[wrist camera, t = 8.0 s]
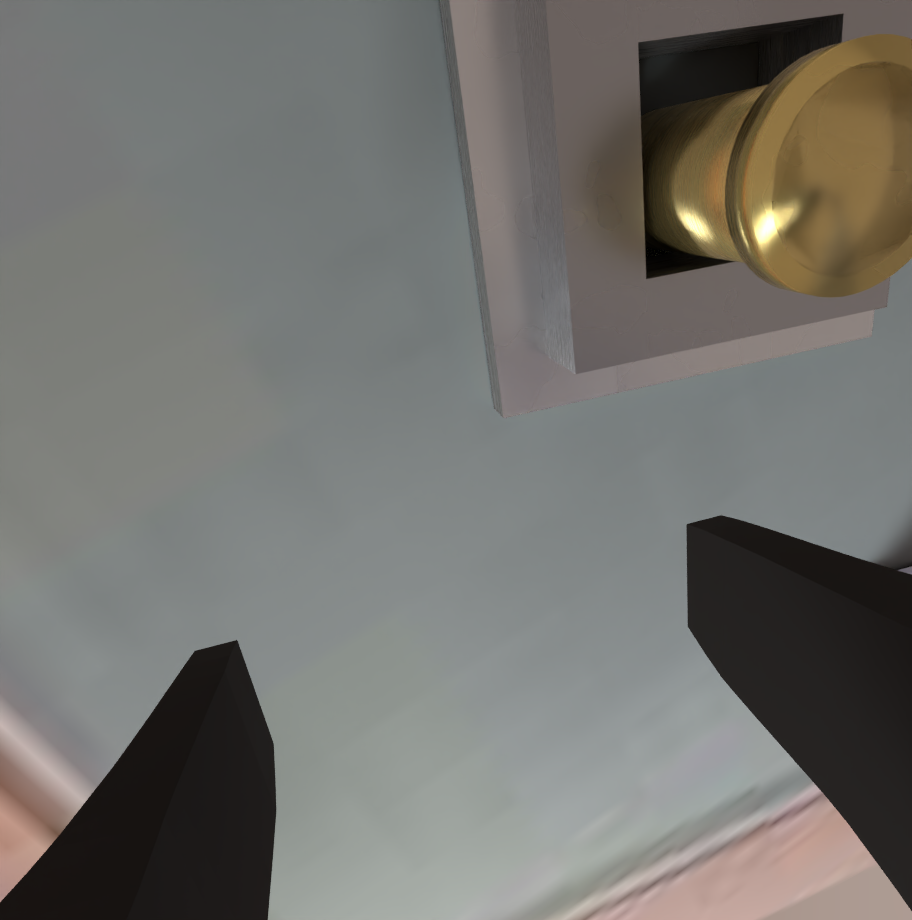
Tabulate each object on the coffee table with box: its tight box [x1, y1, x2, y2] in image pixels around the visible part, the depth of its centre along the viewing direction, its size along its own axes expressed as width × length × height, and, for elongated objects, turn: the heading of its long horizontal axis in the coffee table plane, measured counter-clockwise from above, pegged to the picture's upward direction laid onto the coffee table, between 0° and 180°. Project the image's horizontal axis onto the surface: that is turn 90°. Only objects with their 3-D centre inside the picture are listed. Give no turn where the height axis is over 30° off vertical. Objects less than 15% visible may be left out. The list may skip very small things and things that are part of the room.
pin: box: [641, 34, 912, 298], centre depth 15 cm, size 4×4×7 cm
